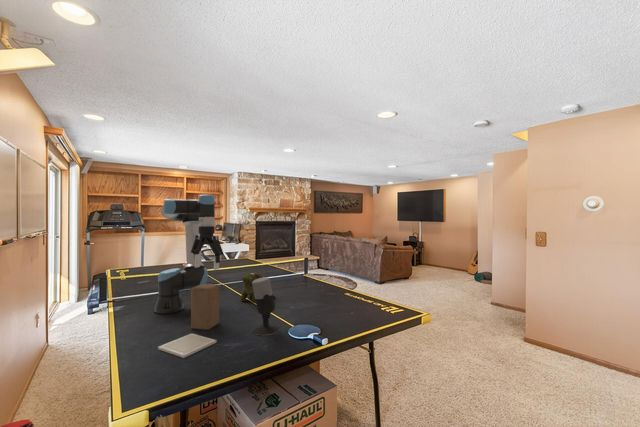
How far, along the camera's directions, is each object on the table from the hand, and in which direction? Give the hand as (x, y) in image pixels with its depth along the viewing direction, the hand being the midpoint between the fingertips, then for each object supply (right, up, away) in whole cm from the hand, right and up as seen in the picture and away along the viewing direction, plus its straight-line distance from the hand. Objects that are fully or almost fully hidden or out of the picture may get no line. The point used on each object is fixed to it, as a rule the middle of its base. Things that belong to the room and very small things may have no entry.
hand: (206, 268), depth 148 cm
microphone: (+31, -29, -6) cm, 42 cm away
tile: (+1, -28, -23) cm, 37 cm away
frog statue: (+12, -29, +47) cm, 57 cm away
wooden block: (0, -29, -1) cm, 29 cm away
